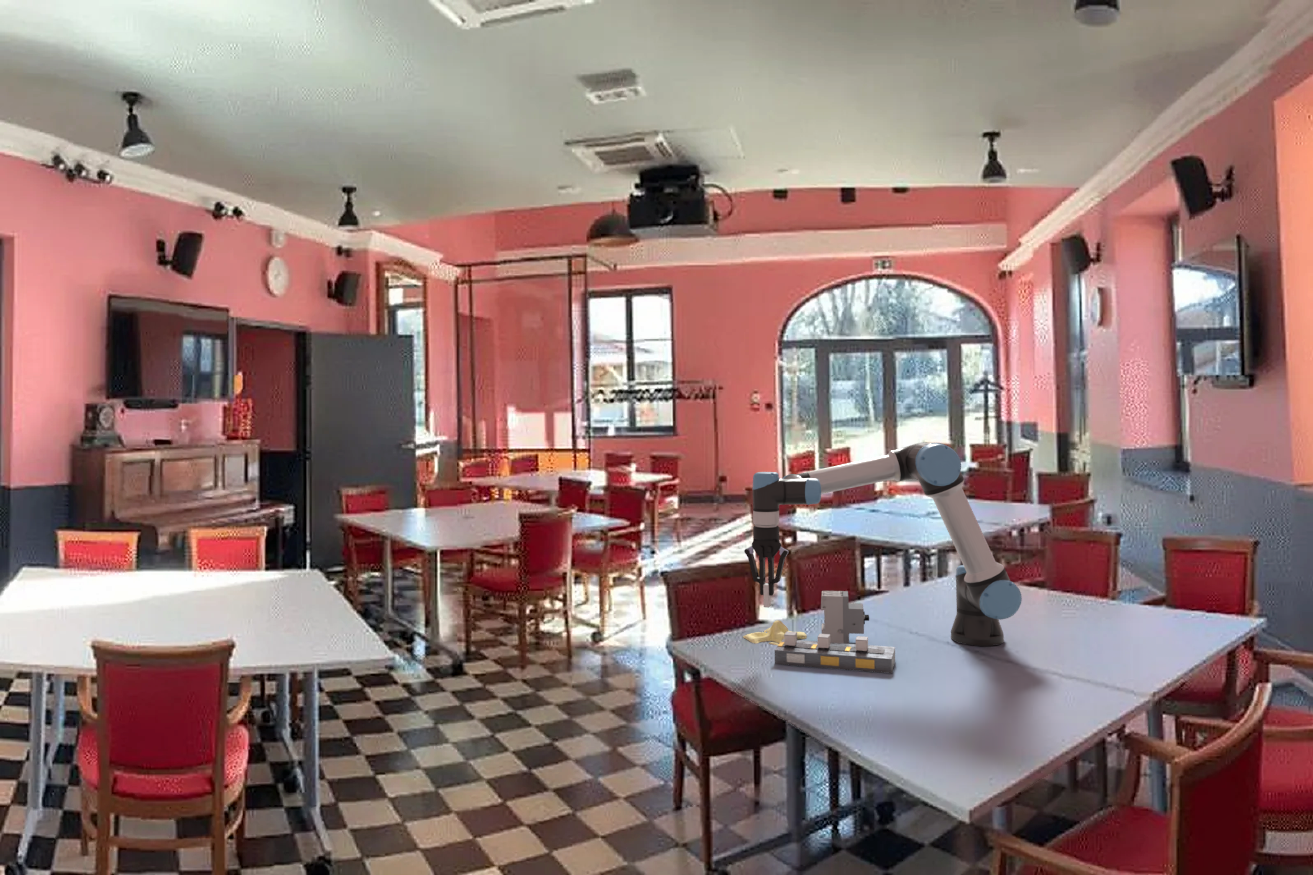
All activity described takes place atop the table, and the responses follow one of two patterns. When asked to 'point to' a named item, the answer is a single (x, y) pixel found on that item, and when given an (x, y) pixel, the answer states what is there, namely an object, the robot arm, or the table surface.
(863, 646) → the knob
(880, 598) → the table surface
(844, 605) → the circuit breaker
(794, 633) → the knob
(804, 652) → the console
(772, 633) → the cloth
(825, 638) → the knob
